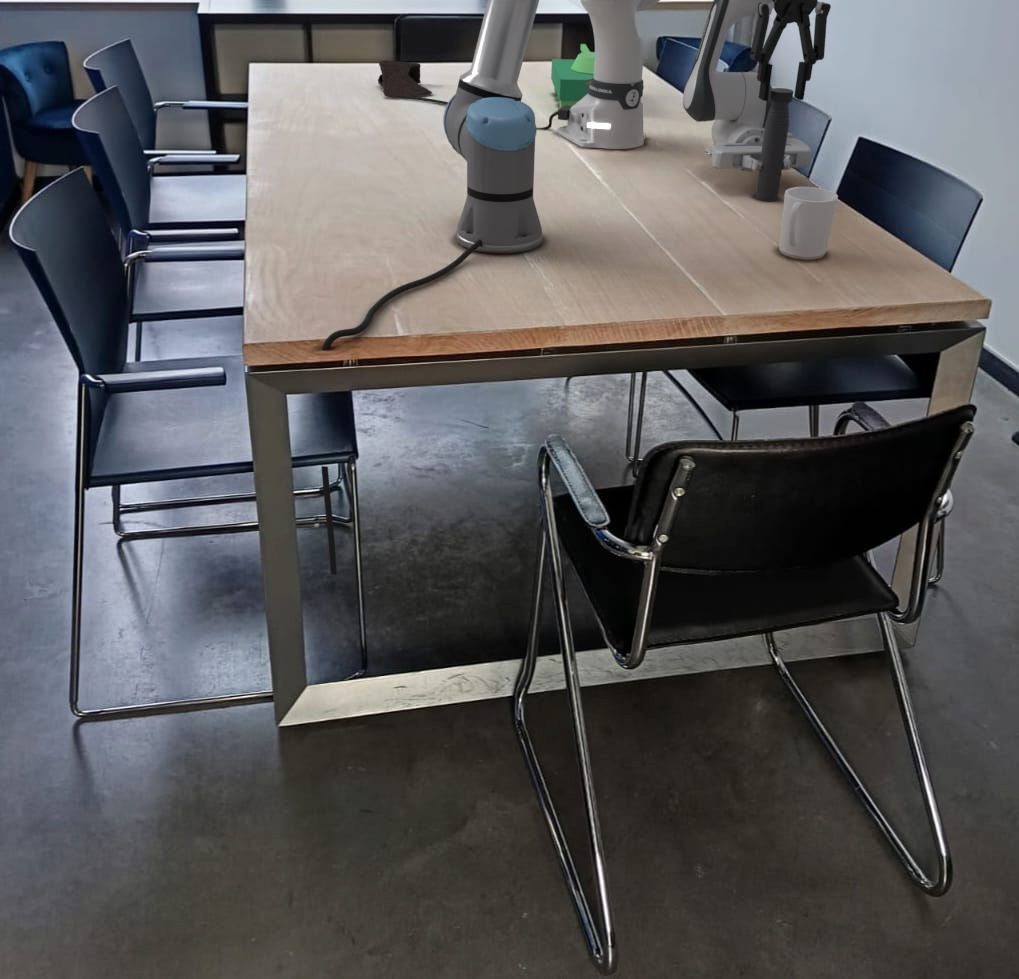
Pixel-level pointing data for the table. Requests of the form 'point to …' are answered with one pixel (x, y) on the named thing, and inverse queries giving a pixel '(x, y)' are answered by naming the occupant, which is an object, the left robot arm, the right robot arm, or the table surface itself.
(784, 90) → the cap
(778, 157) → the bottle
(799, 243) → the mug
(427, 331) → the table surface
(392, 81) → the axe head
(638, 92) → the right robot arm
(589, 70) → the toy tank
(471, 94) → the left robot arm
